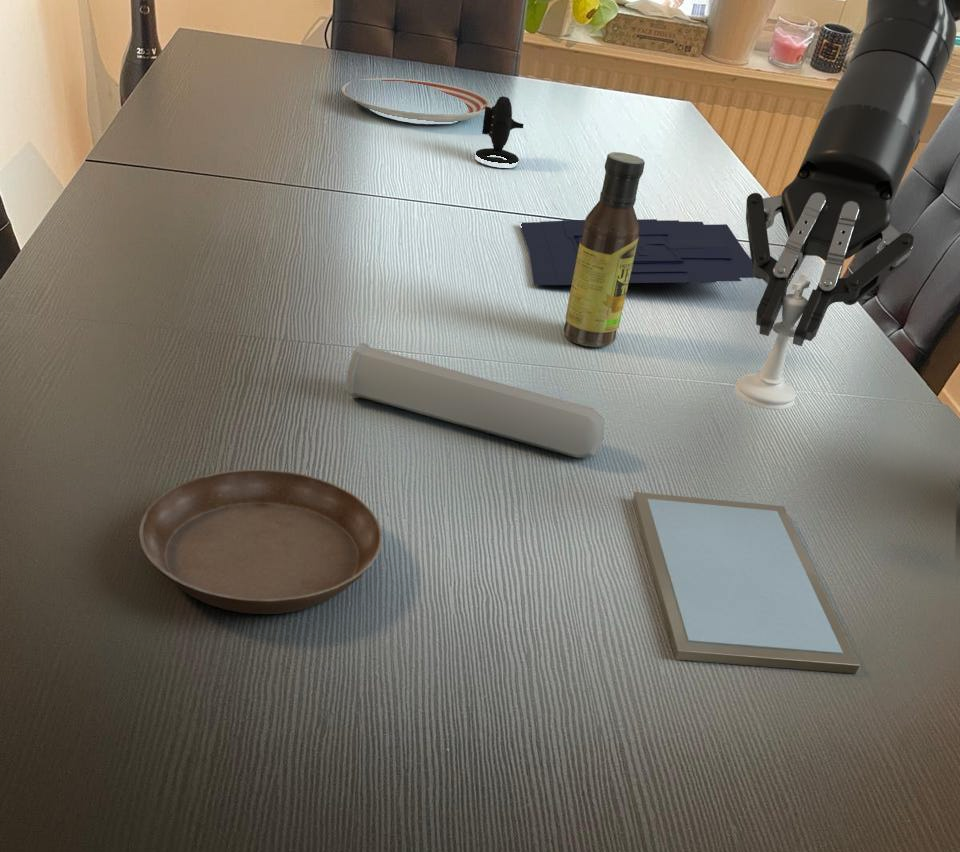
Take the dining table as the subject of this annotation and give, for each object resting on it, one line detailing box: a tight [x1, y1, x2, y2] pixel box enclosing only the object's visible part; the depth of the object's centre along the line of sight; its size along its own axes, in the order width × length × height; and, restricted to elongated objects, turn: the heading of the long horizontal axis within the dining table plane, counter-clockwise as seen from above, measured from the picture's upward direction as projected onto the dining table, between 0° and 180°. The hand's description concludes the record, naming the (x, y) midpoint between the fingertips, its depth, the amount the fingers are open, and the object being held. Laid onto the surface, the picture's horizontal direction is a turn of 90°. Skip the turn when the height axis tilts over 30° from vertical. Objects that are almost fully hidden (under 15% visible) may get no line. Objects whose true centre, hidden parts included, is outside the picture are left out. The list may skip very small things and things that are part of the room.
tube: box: [345, 342, 605, 460], centre depth 97 cm, size 5×5×25 cm
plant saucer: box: [138, 468, 383, 615], centre depth 77 cm, size 18×18×3 cm
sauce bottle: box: [563, 151, 646, 348], centre depth 113 cm, size 6×6×20 cm
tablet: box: [632, 491, 860, 675], centre depth 84 cm, size 14×22×1 cm, turn 2°
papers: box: [520, 218, 755, 286], centre depth 139 cm, size 24×30×4 cm
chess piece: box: [734, 272, 811, 411], centre depth 80 cm, size 5×5×10 cm
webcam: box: [475, 96, 524, 164], centre depth 168 cm, size 8×8×10 cm
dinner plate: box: [341, 77, 492, 122], centre depth 189 cm, size 27×27×3 cm
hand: (781, 334), depth 78 cm, fingers closed on chess piece
